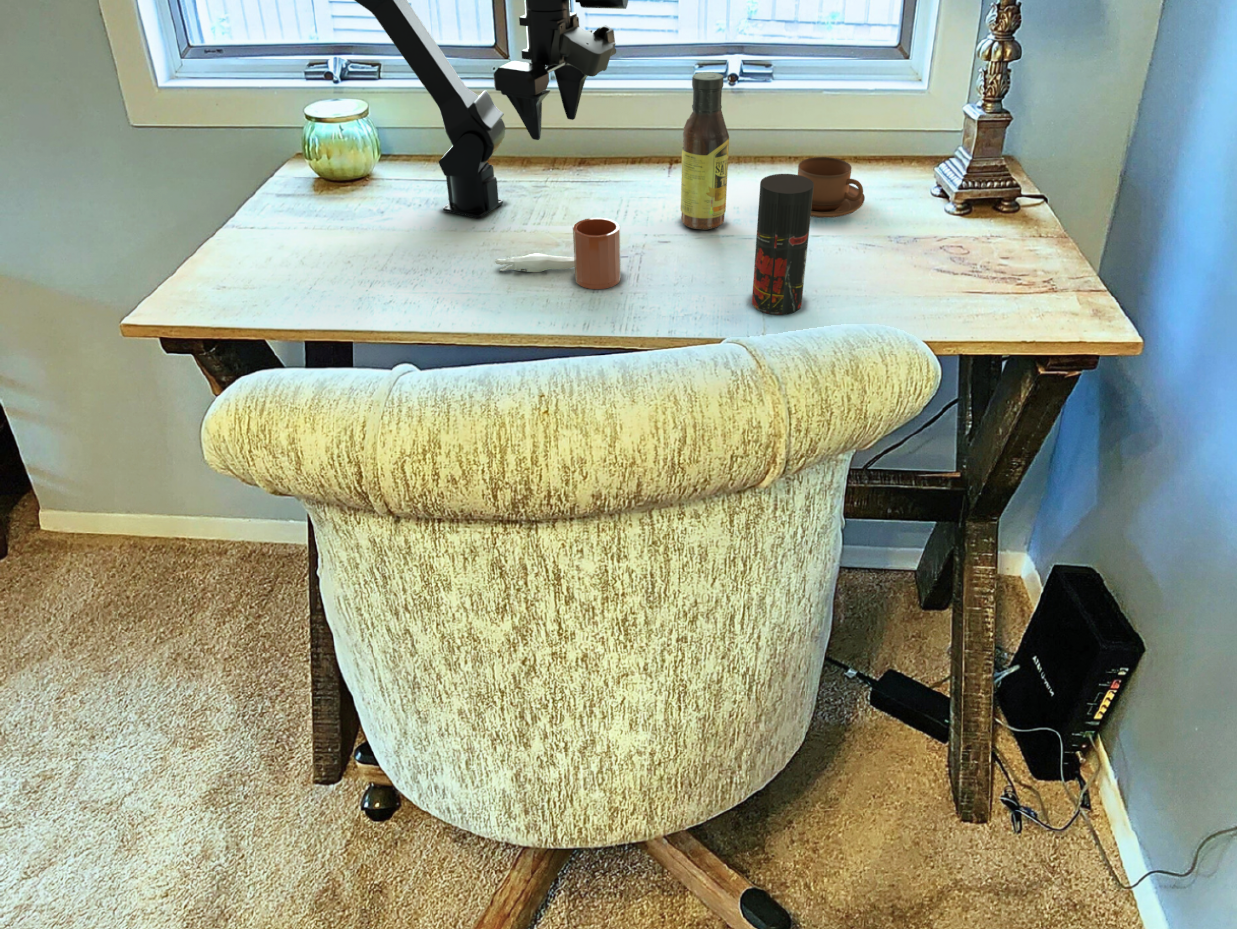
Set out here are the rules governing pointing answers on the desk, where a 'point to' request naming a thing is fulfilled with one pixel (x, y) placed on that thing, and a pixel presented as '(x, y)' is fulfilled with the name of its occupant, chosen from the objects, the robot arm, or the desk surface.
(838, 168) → the cup and saucer
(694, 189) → the sauce bottle
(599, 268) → the cup
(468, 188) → the robot arm
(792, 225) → the deodorant
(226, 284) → the desk surface
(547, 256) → the white elongated piece
